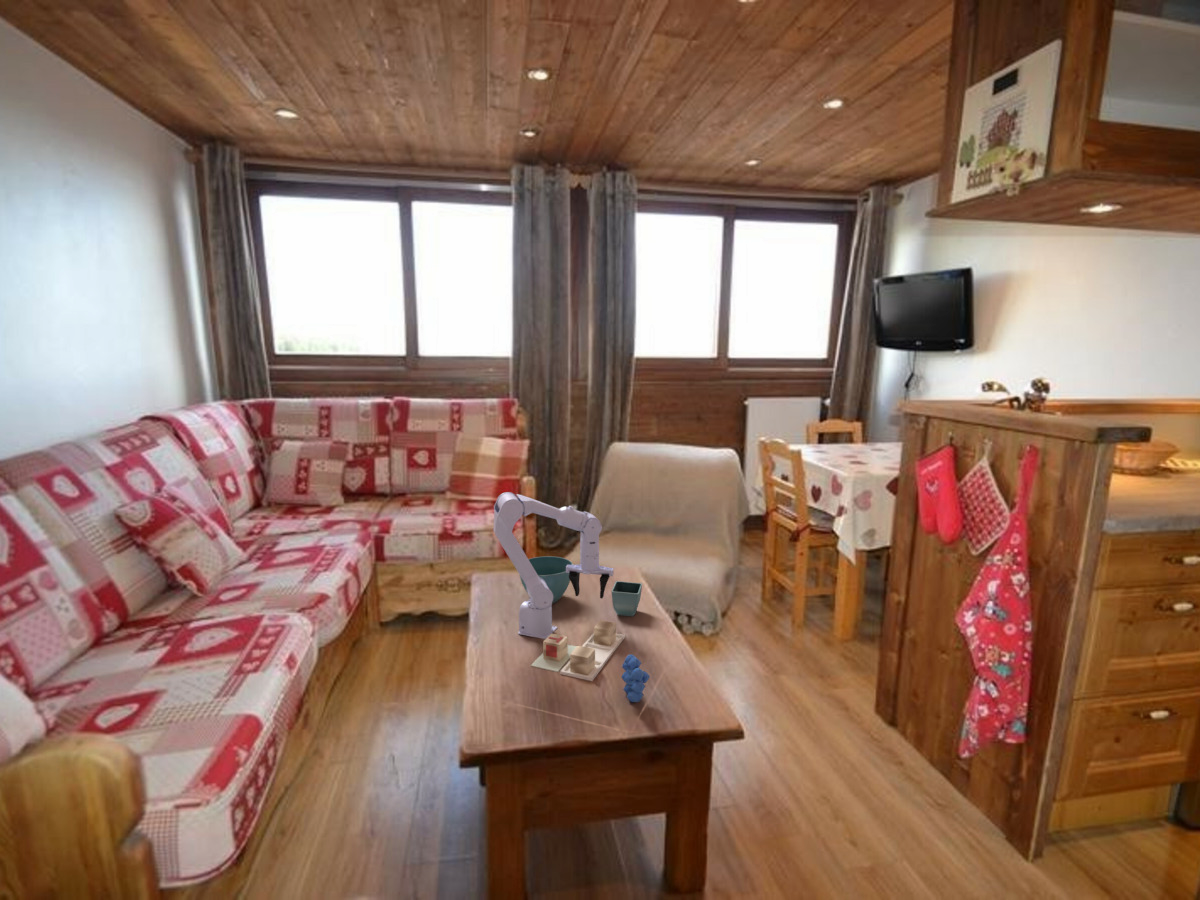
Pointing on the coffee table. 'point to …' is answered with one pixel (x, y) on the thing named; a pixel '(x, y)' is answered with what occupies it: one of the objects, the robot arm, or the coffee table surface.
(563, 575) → the teal round bowl
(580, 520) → the robot arm
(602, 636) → the plain cube far
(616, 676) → the coffee table surface
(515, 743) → the coffee table surface
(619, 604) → the flower pot
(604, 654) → the sorting tray
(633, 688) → the grapes
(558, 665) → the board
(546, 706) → the coffee table surface
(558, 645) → the lettered cube
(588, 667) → the plain cube near
